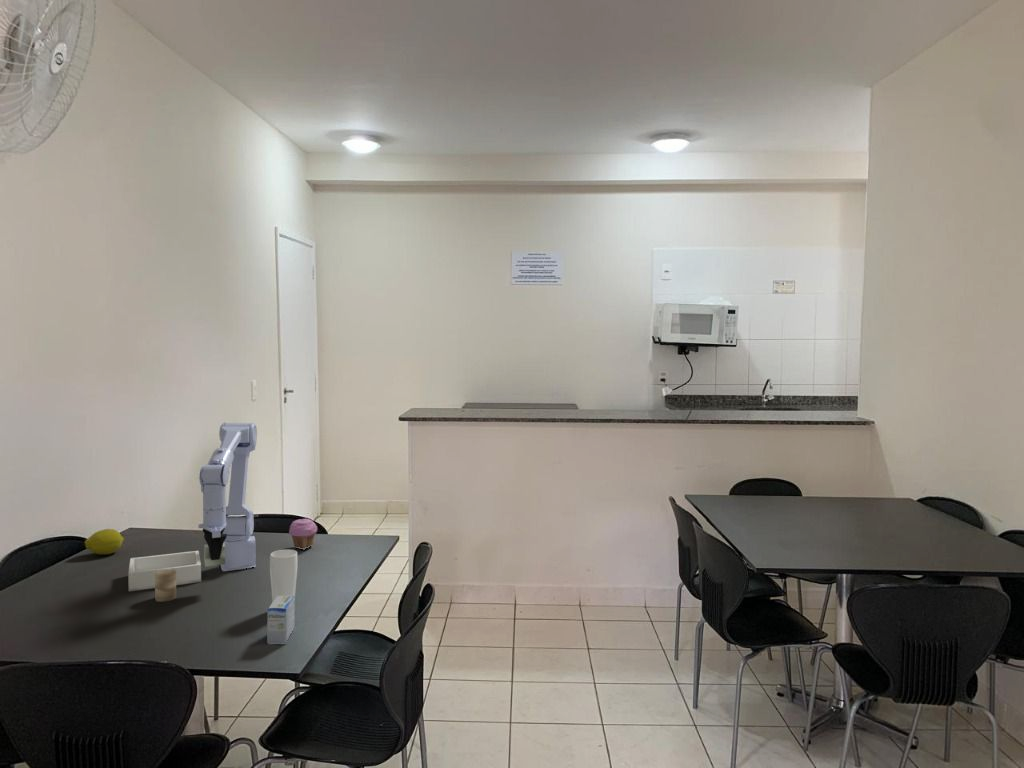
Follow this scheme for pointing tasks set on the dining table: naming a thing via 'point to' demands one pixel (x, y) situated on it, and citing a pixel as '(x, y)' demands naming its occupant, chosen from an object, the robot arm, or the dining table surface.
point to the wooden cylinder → (165, 585)
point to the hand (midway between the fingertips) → (214, 556)
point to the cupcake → (303, 532)
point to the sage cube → (208, 559)
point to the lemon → (104, 542)
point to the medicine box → (281, 619)
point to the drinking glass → (283, 572)
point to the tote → (147, 566)
